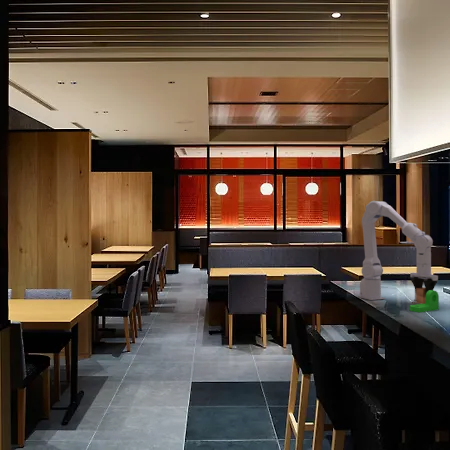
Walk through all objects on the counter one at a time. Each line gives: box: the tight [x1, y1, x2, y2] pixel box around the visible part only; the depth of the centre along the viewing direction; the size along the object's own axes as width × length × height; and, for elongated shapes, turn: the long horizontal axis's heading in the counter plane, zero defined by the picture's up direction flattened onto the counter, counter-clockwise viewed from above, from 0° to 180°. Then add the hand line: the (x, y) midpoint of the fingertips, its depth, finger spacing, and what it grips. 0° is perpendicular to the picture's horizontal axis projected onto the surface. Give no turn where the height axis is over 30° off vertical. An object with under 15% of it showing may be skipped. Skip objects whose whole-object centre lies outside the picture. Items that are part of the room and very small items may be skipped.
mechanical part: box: [409, 289, 440, 313], centre depth 204 cm, size 12×6×8 cm, turn 122°
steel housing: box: [413, 286, 425, 302], centre depth 223 cm, size 7×4×6 cm, turn 19°
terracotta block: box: [415, 288, 426, 304], centre depth 215 cm, size 4×4×6 cm
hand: (423, 296), depth 215 cm, fingers open, 5 cm apart
